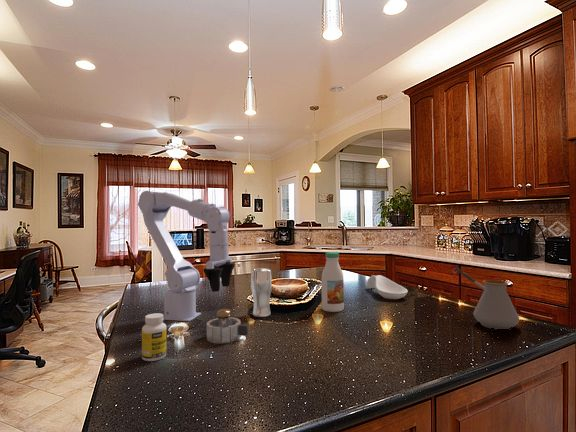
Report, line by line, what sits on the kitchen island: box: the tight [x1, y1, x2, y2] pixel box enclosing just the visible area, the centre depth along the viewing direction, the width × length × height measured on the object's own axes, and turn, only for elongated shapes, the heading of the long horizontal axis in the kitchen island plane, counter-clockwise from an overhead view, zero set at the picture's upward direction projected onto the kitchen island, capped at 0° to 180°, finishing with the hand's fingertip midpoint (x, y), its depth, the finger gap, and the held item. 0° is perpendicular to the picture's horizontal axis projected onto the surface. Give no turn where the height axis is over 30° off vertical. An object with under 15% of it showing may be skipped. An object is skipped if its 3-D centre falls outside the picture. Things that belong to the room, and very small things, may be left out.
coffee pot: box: [452, 267, 520, 330], centre depth 101 cm, size 21×12×15 cm, turn 16°
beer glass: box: [250, 267, 273, 318], centre depth 110 cm, size 7×7×15 cm
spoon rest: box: [365, 274, 409, 300], centre depth 136 cm, size 24×12×7 cm, turn 14°
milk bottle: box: [321, 251, 345, 313], centre depth 115 cm, size 8×8×20 cm
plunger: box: [216, 308, 231, 327], centre depth 89 cm, size 6×6×7 cm
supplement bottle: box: [141, 312, 168, 362], centre depth 77 cm, size 5×5×10 cm
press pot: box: [206, 316, 249, 344], centre depth 89 cm, size 11×9×4 cm
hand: (220, 288), depth 102 cm, fingers open, 7 cm apart
